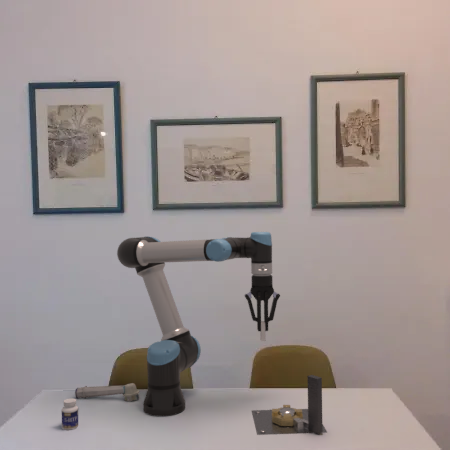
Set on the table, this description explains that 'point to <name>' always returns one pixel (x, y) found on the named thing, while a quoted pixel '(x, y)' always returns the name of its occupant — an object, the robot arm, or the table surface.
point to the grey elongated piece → (109, 391)
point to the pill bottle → (69, 414)
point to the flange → (268, 427)
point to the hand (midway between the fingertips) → (263, 340)
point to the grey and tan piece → (313, 408)
